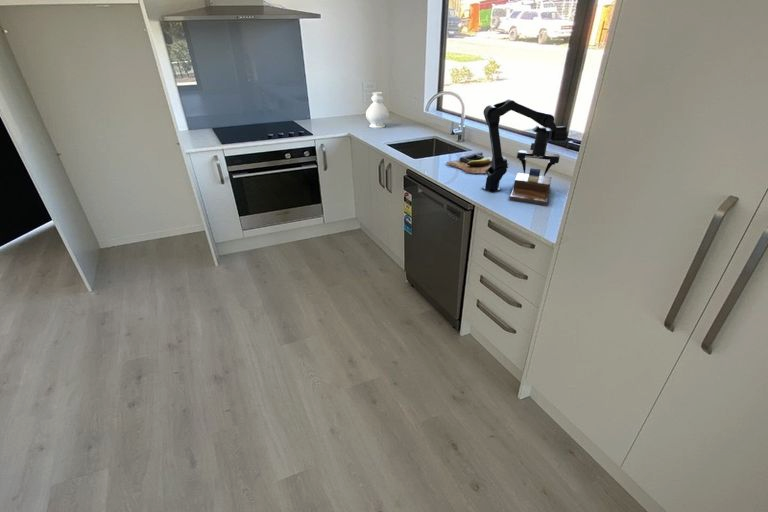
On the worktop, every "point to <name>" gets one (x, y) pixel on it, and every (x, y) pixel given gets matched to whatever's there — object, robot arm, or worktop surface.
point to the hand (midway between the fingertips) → (534, 174)
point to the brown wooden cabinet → (531, 189)
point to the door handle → (472, 157)
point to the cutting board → (473, 165)
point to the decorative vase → (377, 111)
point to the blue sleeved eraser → (534, 175)
